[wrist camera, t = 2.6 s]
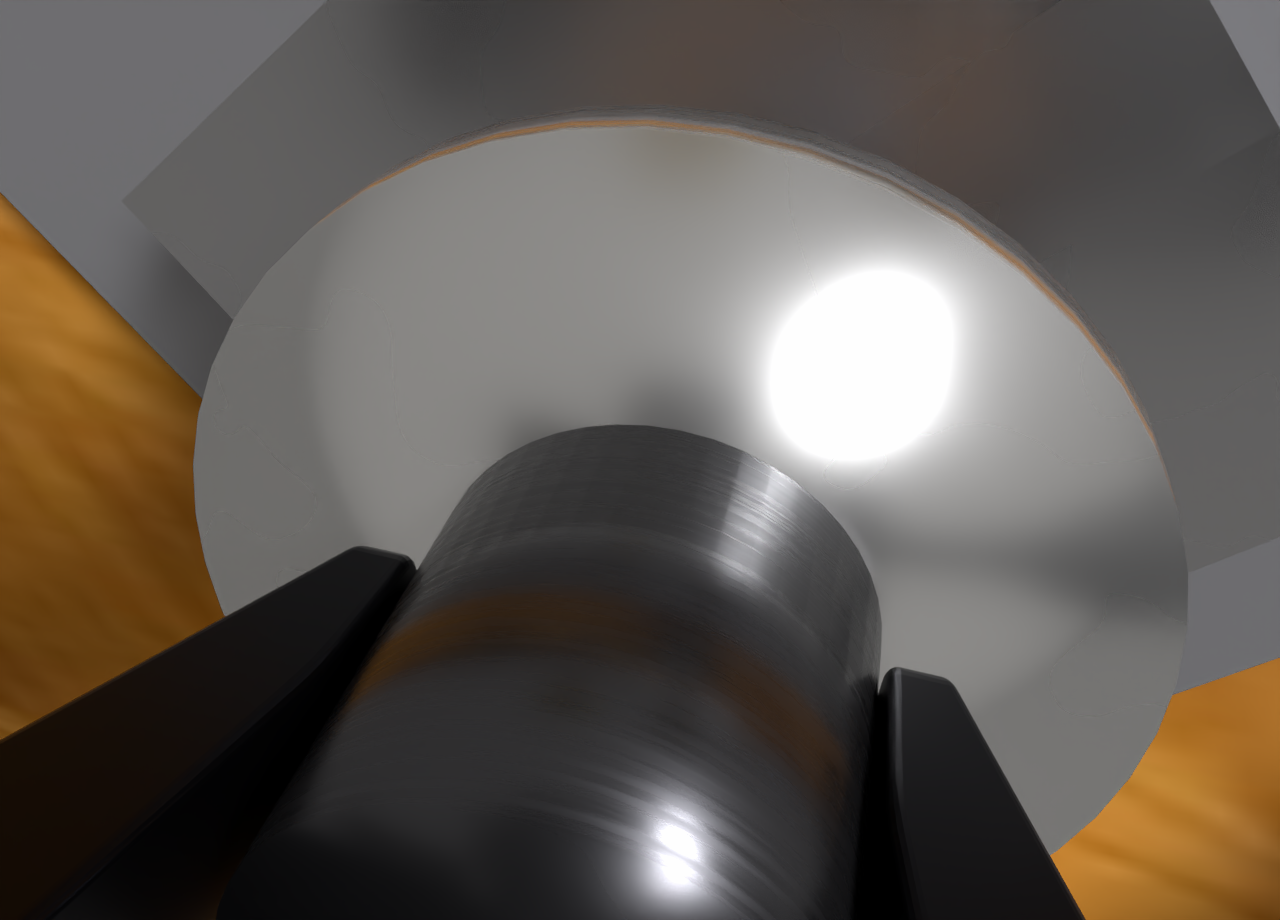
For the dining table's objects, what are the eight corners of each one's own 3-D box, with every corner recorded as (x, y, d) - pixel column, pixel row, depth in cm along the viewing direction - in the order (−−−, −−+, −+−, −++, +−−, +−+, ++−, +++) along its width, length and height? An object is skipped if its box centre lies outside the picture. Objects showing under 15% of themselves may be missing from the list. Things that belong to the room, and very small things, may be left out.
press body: (1329, 261, 16) (1463, 464, 12) (723, 561, 20) (666, 780, 16) (918, -480, 13) (902, -561, 8) (317, 79, 17) (121, 200, 13)
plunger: (1227, 394, 12) (1595, 1331, 5) (692, 641, 16) (484, 1415, 9) (846, -223, 10) (612, -22, 3) (320, 218, 13) (-361, 795, 6)
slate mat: (1989, 352, 15) (2047, 389, 15) (673, 834, 26) (665, 871, 25) (1199, -1951, 9) (1225, -2123, 8) (-152, -26, 19) (-201, -14, 18)
